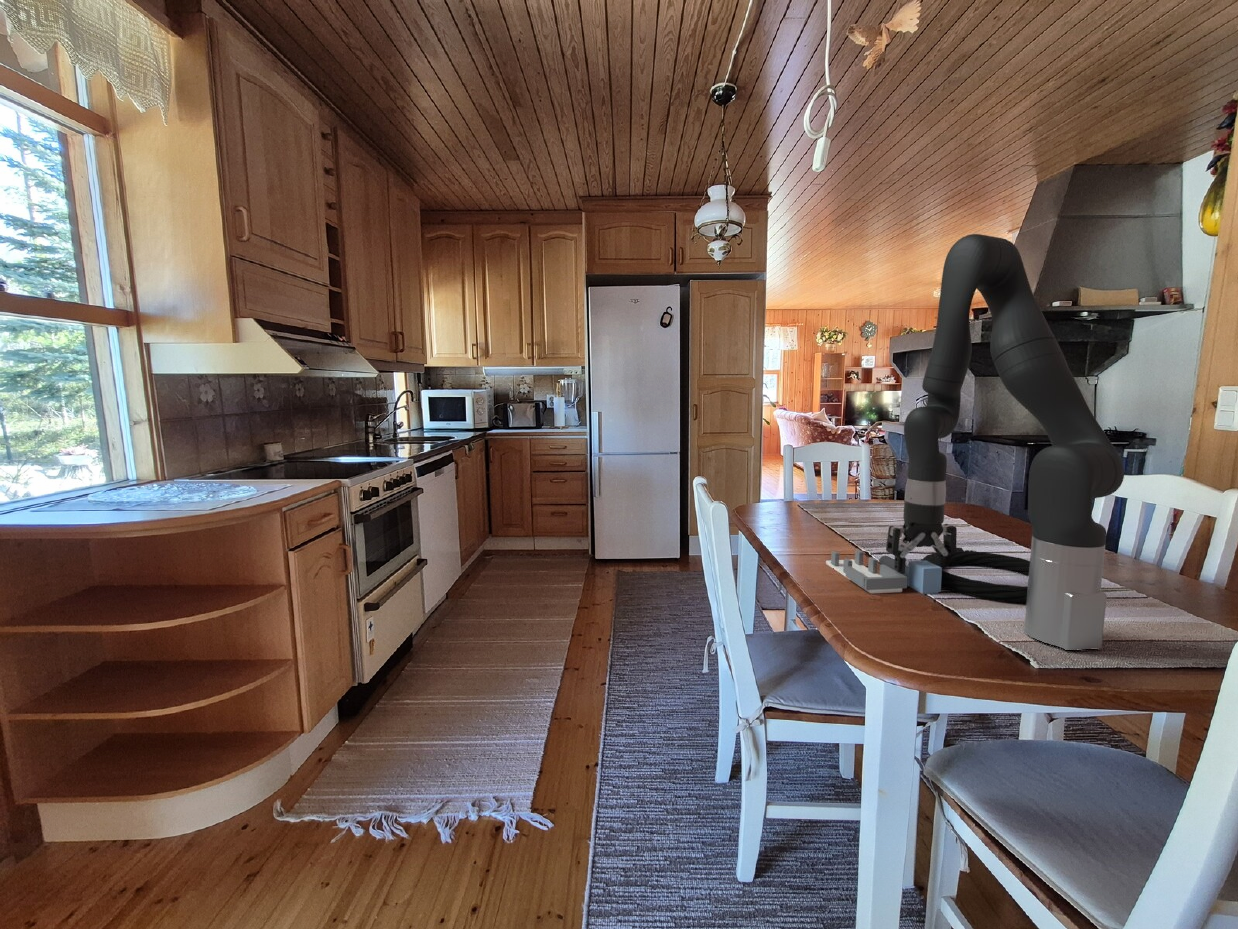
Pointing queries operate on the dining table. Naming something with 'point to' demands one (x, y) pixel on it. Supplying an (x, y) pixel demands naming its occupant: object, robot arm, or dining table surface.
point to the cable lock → (979, 587)
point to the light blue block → (919, 575)
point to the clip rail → (868, 574)
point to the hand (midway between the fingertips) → (919, 572)
